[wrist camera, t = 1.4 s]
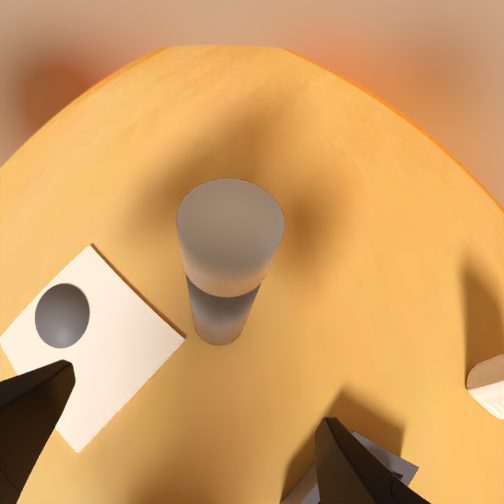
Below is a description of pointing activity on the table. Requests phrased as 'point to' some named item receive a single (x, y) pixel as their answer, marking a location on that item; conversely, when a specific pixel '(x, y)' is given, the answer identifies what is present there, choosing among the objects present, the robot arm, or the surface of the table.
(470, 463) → the table surface
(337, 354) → the table surface
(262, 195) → the marker
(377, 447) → the button box
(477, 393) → the photo printer
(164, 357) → the notepad
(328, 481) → the robot arm
